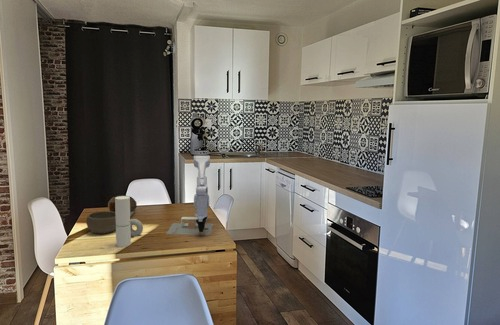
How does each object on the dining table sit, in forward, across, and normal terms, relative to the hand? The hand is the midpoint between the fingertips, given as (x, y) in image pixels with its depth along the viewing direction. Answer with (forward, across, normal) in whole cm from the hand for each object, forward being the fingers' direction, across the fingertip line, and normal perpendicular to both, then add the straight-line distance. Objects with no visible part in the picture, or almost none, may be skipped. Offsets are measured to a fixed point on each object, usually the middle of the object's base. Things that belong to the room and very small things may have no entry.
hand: (201, 230), depth 208 cm
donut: (+3, +3, -37) cm, 37 cm away
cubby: (+3, -10, -8) cm, 12 cm away
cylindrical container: (+3, +16, -39) cm, 42 cm away
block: (+2, -12, -7) cm, 14 cm away
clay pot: (+3, -40, -55) cm, 68 cm away
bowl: (+3, -5, -57) cm, 57 cm away
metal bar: (+2, -5, -16) cm, 17 cm away
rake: (+2, -4, 0) cm, 5 cm away
